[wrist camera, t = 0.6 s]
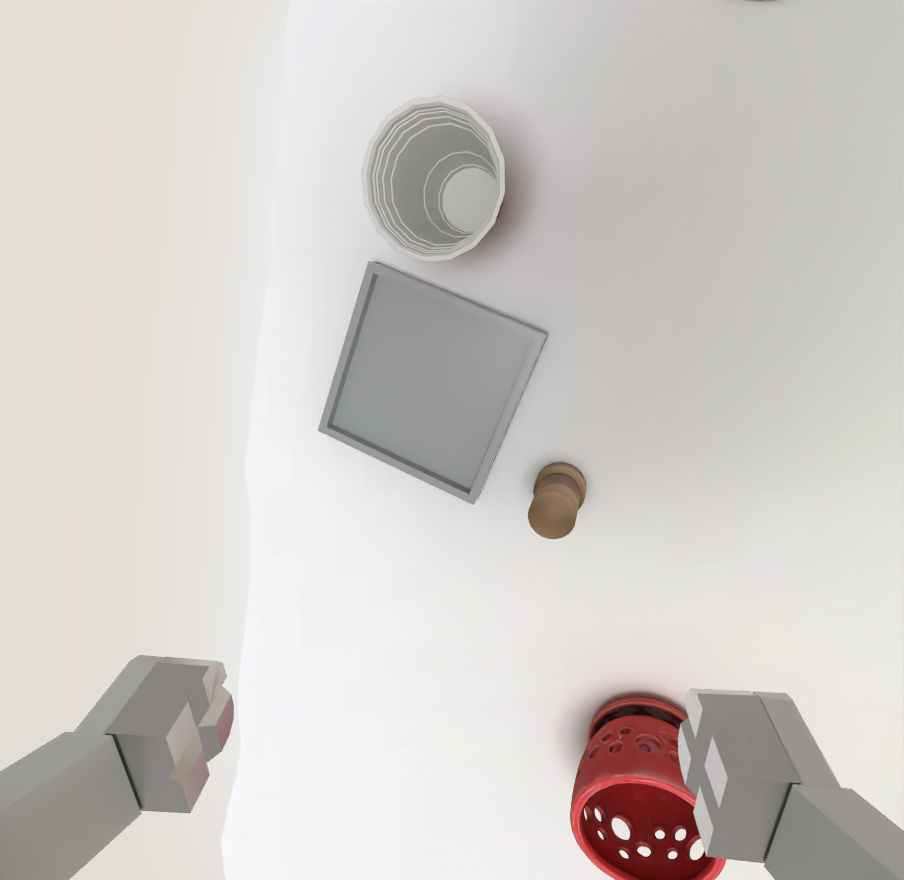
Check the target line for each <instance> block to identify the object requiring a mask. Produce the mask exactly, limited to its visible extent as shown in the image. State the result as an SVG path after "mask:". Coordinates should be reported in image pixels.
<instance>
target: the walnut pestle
mask: <svg viewBox="0 0 904 880" xmlns="http://www.w3.org/2000/svg"><path fill="white" fill-rule="evenodd" d="M533 492H534V498H533V501H532V503H531V506H530V508H529V512H528V519H529V523H530V525H531V527H532V528H533V530H534V531H535V532H536V533H538V534H539V535H541V536H543V537H545V538H549V539H558V538H562V537H564V536H566V535H567V534H569V533H570V532H571V531H572V529H573V528H574V525H575V521H576V516H577V511H578V509H579V508H580V507H581V506H582V504H583V501H584V498H585V492H586V482H585V479H584V477H583V475H582V473H581V472H580V471H579V470H578V469H577V468H575V467H574V466H572V465H570V464H567V463H553V464H550V465H548V466H546V467H545V468H544V469H543V470H542V471H541V472H540V473H539V475H538V477H537V480H536V482H535V485H534V490H533Z"/></svg>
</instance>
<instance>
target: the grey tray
mask: <svg viewBox="0 0 904 880" xmlns="http://www.w3.org/2000/svg"><path fill="white" fill-rule="evenodd" d="M547 335H548V334H547V333H545V332H542V331H540V330H538V329H535V328H533V327H530V326H528V325H526V324H523V323H521V322H518V321H516V320H514V319H511V318H509V317H506V316H504V315H502V314H499V313H497V312H494V311H492V310H490V309H487V308H485V307H482V306H480V305H478V304H475V303H473V302H470V301H468V300H466V299H463V298H461V297H458V296H456V295H454V294H451V293H449V292H446V291H444V290H442V289H439V288H437V287H434V286H432V285H430V284H427V283H425V282H422V281H420V280H418V279H415V278H413V277H410V276H408V275H406V274H403V273H401V272H398V271H396V270H394V269H391V268H389V267H386V266H384V265H382V264H379V263H377V262H368V265H367V268H366V271H365V275H364V278H363V281H362V285H361V288H360V291H359V295H358V298H357V301H356V305H355V308H354V311H353V315H352V318H351V321H350V325H349V328H348V331H347V335H346V338H345V342H344V345H343V348H342V352H341V355H340V358H339V362H338V365H337V368H336V372H335V375H334V378H333V382H332V385H331V388H330V392H329V395H328V398H327V402H326V405H325V408H324V412H323V415H322V418H321V422H320V425H319V428H318V431H320V432H322V433H324V434H326V435H328V436H330V437H332V438H334V439H337V440H339V441H341V442H343V443H345V444H347V445H349V446H351V447H353V448H355V449H358V450H360V451H362V452H364V453H366V454H368V455H370V456H372V457H374V458H376V459H379V460H381V461H383V462H385V463H387V464H389V465H391V466H393V467H395V468H397V469H400V470H402V471H404V472H406V473H408V474H410V475H412V476H414V477H416V478H418V479H421V480H423V481H425V482H427V483H429V484H431V485H433V486H435V487H437V488H439V489H442V490H444V491H446V492H448V493H450V494H452V495H454V496H456V497H458V498H460V499H463V500H465V501H467V502H469V503H471V504H473V505H474V503H475V502H476V500H477V499H478V496H479V494H480V492H481V489H482V487H483V485H484V482H485V480H486V478H487V475H488V473H489V471H490V468H491V466H492V464H493V461H494V459H495V457H496V454H497V452H498V450H499V447H500V445H501V443H502V440H503V438H504V436H505V433H506V431H507V429H508V426H509V424H510V422H511V419H512V417H513V415H514V412H515V410H516V408H517V405H518V403H519V401H520V398H521V396H522V394H523V391H524V389H525V387H526V384H527V382H528V380H529V377H530V375H531V373H532V370H533V368H534V366H535V363H536V361H537V359H538V356H539V354H540V352H541V349H542V347H543V345H544V342H545V340H546V338H547Z"/></svg>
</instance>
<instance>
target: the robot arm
mask: <svg viewBox="0 0 904 880" xmlns="http://www.w3.org/2000/svg"><path fill="white" fill-rule="evenodd" d="M226 677H227V676H226V672H225V669H224V665H223V663H221V662H217V661H207V660H195V659H184V658H173V657H157V656H156V657H155V656H144V655H139V656H137V657H136V658H134V659H132V660H131V661H130V662H129V663H128V664H127V666H126V667H125V668H124V669H123V671H122V672H121V673H120V674H119V676H118V677H117V678H116V679H115V681H114V682H113V683H112V684H111V686H110V687H109V688H108V690H107V691H106V692H105V693H104V694H103V696H102V697H101V698H100V700H99V701H98V702H97V703H96V705H95V706H94V707H93V709H92V710H91V711H90V712H89V713H88V715H87V716H86V717H85V718H84V720H83V721H82V722H81V723H80V725H79V726H78V727H77V729H76V730H75V731H74V732H64V733H63V734H61V735H60V736H58V737H56V738H54V739H53V740H51V741H50V742H48V743H46V744H45V745H43V746H41V747H40V748H38V749H37V750H35V751H33V752H32V753H30V754H28V755H27V756H25V757H23V758H22V759H20V760H18V761H17V762H15V763H14V764H12V765H10V766H9V767H7V768H5V769H4V770H2V771H0V880H69V879H70V878H71V877H72V876H74V875H75V874H76V873H77V872H78V871H79V870H80V869H81V868H82V867H83V866H84V865H86V864H87V863H88V862H89V861H90V860H91V859H92V858H93V857H94V856H95V855H97V854H98V853H99V852H100V851H101V850H102V849H103V848H104V847H105V846H106V845H108V844H109V843H110V842H111V841H112V840H113V839H114V838H115V837H116V836H117V835H119V834H120V833H121V832H122V831H123V830H124V829H125V828H126V827H127V826H128V825H130V824H131V823H132V822H133V821H134V820H135V819H136V818H137V817H138V816H139V815H141V811H158V812H178V813H191V811H192V809H193V807H194V805H195V803H196V801H197V799H198V797H199V795H200V793H201V791H202V789H203V787H204V785H205V783H206V781H207V779H208V777H209V770H208V765H207V762H208V761H209V760H211V759H212V758H213V757H215V756H216V755H217V754H219V753H220V752H221V751H222V749H223V747H224V745H225V743H226V741H227V739H228V737H229V734H230V729H231V726H232V722H233V715H234V712H233V711H234V706H233V700H232V696H231V694H230V693H229V692H228V691H227V690H226V689H224V688H223V687H222V684H223V683H224V681H225V679H226ZM684 705H685V708H686V711H687V714H688V718H687V719H686V720H685V721H683V722H682V723H681V724H680V729H679V735H678V755H679V761H680V767H681V772H682V775H683V779H684V782H685V785H686V786H687V787H688V788H689V789H690V791H691V792H692V793H693V794H694V795H695V796H696V797H697V799H696V803H695V807H694V812H693V813H694V817H695V820H696V824H697V827H698V830H699V834H700V837H701V840H702V844H703V847H704V850H705V854H706V857H714V858H723V859H732V860H741V861H750V862H759V863H765V865H764V867H765V868H766V869H767V870H768V872H769V873H770V874H771V875H772V876H773V878H774V879H775V880H904V831H903V830H902V829H901V828H899V827H898V826H897V825H896V824H894V823H893V822H892V821H891V820H889V819H888V818H887V817H886V816H885V815H883V814H882V813H881V812H880V811H878V810H877V809H876V808H875V807H873V806H872V805H871V804H870V803H868V802H867V801H866V800H865V799H864V798H862V797H861V796H860V795H859V794H857V793H856V792H855V791H854V790H852V789H848V788H841V787H840V785H839V783H838V781H837V779H836V777H835V776H834V774H833V772H832V770H831V768H830V767H829V765H828V763H827V761H826V759H825V758H824V756H823V754H822V752H821V750H820V749H819V747H818V745H817V743H816V741H815V740H814V738H813V736H812V734H811V732H810V731H809V729H808V727H807V725H806V723H805V722H804V720H803V718H802V716H801V714H800V713H799V711H798V709H797V707H796V705H795V704H794V702H793V700H792V699H791V698H790V697H789V696H788V695H787V694H786V693H769V692H750V691H733V690H712V689H690V690H689V692H688V693H687V696H686V700H685V704H684Z"/></svg>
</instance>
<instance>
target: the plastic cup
mask: <svg viewBox="0 0 904 880" xmlns="http://www.w3.org/2000/svg"><path fill="white" fill-rule="evenodd" d="M362 182H363V192H364V202H365V206H366V208H367V210H368V213H369V215H370V217H371V219H372V221H373V223H374V226H375V228H376V230H377V232H378V233H379V234H380V235H381V236H382V237H383V238H384V239H385V240H386V241H387V242H388V243H389V244H390V245H391V246H392V247H393V248H394V249H395V250H396V251H398V252H400V253H403V254H405V255H408V256H410V257H413V258H415V259H418V260H420V261H443V260H451V259H453V258H455V257H457V256H459V255H461V254H463V253H465V252H467V251H469V250H470V249H472V248H474V247H475V246H476V245H477V244H478V243H479V242H480V241H481V239H482V238H483V237H484V236H485V235H486V233H487V232H488V231H489V230H490V229H491V227H492V226H493V225H494V224H495V221H496V219H497V218H498V216H499V213H500V210H501V207H502V205H503V198H504V195H505V166H504V157H503V155H502V152H501V150H500V147H499V145H498V142H497V140H496V137H495V135H494V132H493V130H492V128H491V127H490V126H489V125H488V124H487V123H486V122H485V121H484V120H483V119H482V118H481V117H480V116H479V115H478V114H477V113H476V112H475V111H474V110H473V109H472V108H471V107H470V106H469V105H466V104H463V103H460V102H457V101H455V100H452V99H449V98H446V97H443V96H435V97H427V98H420V99H412V100H410V101H409V102H407V103H406V104H404V105H403V106H401V107H400V108H398V109H397V110H395V111H394V112H392V113H391V114H389V115H388V116H386V118H385V119H384V121H383V122H382V124H381V125H380V127H379V128H378V130H377V131H376V133H375V134H374V136H373V137H372V139H371V140H370V142H369V145H368V149H367V153H366V157H365V161H364V166H363V170H362Z"/></svg>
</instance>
